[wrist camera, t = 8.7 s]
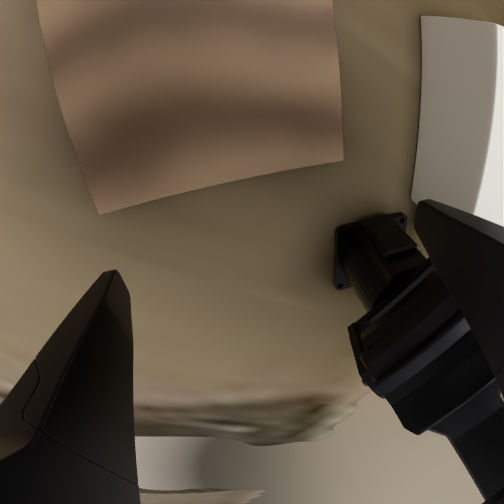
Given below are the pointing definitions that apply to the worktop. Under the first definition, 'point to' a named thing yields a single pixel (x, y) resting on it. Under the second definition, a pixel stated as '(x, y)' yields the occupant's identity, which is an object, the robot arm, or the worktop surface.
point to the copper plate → (193, 91)
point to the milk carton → (462, 117)
